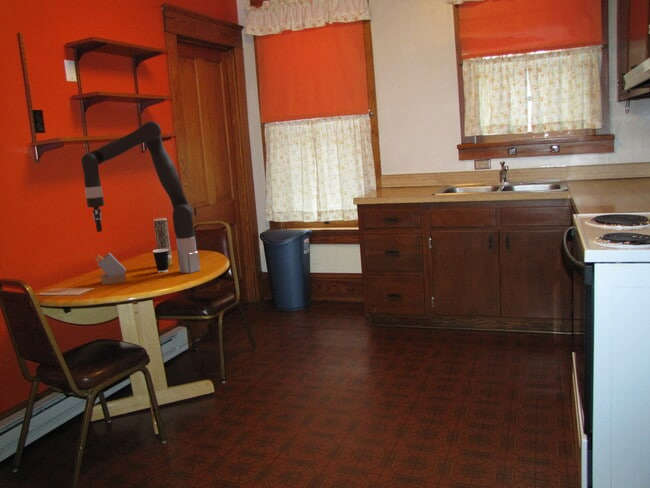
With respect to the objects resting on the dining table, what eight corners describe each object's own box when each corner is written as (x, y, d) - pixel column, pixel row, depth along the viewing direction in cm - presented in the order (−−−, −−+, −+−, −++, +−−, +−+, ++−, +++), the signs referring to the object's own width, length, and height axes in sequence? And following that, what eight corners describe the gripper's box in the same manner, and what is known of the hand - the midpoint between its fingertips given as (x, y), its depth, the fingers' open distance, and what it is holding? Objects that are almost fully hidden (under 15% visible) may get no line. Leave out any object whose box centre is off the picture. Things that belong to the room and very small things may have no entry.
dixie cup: (173, 271, 311) (170, 249, 310) (158, 274, 307) (155, 252, 305) (168, 269, 318) (165, 248, 316) (152, 271, 314) (150, 250, 312)
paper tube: (174, 263, 331) (168, 217, 326) (169, 266, 324) (164, 219, 320) (162, 264, 332) (156, 218, 327) (157, 267, 325) (151, 220, 321)
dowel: (120, 268, 298) (99, 253, 294) (117, 272, 296) (95, 258, 292) (118, 270, 300) (97, 256, 296) (115, 274, 298) (93, 260, 294)
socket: (126, 277, 304) (122, 250, 301) (127, 281, 295) (123, 253, 293) (100, 281, 300) (96, 253, 298) (100, 285, 292) (96, 256, 289)
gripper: (86, 196, 295) (91, 229, 298) (85, 198, 282) (90, 233, 284) (103, 194, 297) (107, 227, 300) (102, 196, 284) (107, 231, 287)
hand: (99, 230), depth 292 cm, fingers open, 8 cm apart
